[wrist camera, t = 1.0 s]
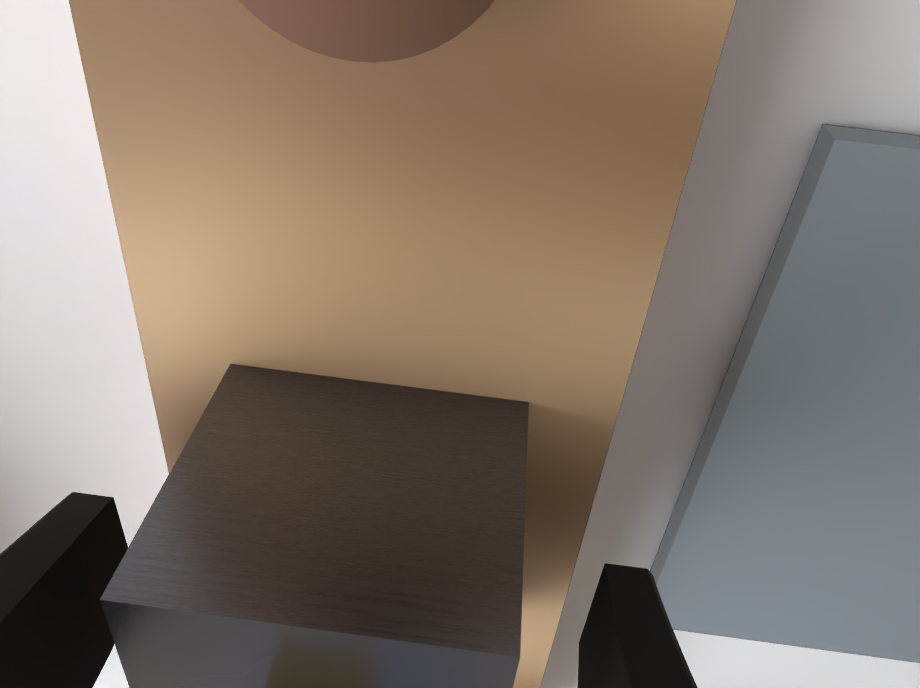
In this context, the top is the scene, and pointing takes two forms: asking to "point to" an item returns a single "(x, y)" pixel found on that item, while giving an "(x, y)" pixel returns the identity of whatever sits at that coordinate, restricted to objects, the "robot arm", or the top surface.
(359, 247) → the hand plane
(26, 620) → the robot arm
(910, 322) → the slate mat
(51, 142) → the top surface
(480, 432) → the lever cap
